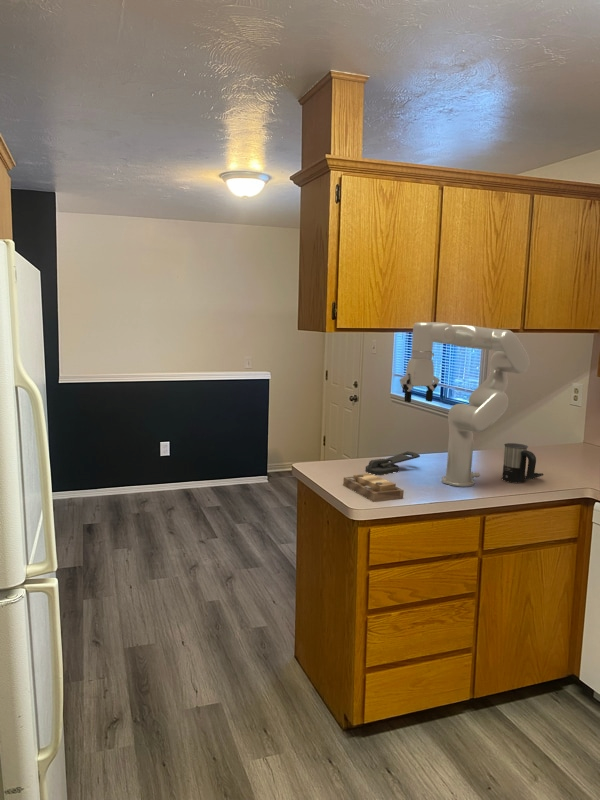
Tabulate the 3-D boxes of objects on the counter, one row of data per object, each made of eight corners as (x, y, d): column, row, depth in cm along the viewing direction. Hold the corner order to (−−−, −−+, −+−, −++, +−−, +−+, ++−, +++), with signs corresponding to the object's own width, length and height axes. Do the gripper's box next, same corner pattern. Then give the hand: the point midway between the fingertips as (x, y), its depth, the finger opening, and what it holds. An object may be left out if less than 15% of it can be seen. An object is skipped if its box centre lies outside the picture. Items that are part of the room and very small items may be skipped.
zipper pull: (422, 454, 257) (376, 460, 244) (421, 470, 258) (375, 476, 245) (408, 450, 265) (363, 455, 252) (407, 465, 266) (362, 471, 253)
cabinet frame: (343, 485, 230) (343, 475, 229) (371, 482, 235) (371, 472, 235) (373, 501, 211) (374, 491, 210) (403, 498, 216) (403, 488, 215)
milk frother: (497, 480, 247) (500, 444, 245) (512, 473, 259) (515, 439, 257) (532, 487, 238) (535, 450, 236) (545, 480, 250) (549, 445, 248)
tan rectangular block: (352, 485, 227) (353, 474, 227) (367, 483, 231) (368, 472, 230) (379, 496, 214) (380, 485, 213) (395, 494, 217) (395, 483, 217)
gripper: (434, 355, 231) (430, 399, 233) (396, 354, 223) (393, 400, 226) (446, 356, 224) (443, 402, 226) (408, 356, 216) (405, 403, 219)
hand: (418, 401), depth 226 cm, fingers open, 9 cm apart
